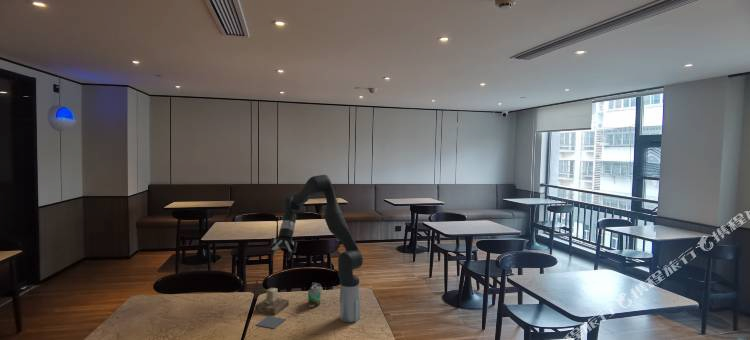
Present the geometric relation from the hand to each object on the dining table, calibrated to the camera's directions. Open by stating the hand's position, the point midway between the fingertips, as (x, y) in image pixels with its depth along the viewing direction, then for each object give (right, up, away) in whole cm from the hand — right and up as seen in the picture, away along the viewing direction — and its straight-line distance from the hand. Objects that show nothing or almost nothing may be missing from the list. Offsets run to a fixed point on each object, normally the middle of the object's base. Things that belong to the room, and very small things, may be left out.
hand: (280, 258), depth 202 cm
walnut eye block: (-3, -24, -6) cm, 25 cm away
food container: (+19, -25, -1) cm, 31 cm away
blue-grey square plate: (+1, -25, -22) cm, 33 cm away
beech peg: (-3, -24, -6) cm, 25 cm away
